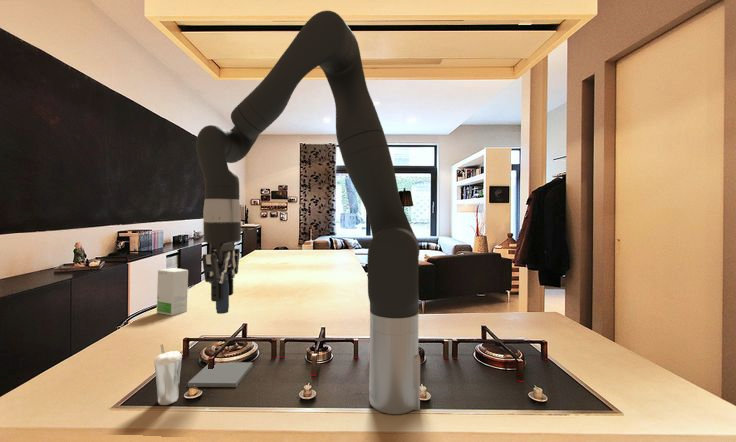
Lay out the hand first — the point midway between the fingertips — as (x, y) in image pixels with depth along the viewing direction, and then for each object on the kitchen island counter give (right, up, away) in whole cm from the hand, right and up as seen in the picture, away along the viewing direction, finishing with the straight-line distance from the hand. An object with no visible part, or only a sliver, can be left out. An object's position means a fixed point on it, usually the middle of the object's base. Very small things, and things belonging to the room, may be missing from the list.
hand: (222, 297), depth 76 cm
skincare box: (-39, -16, +49) cm, 65 cm away
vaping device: (0, -3, 0) cm, 3 cm away
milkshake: (-6, -18, -10) cm, 21 cm away
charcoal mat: (0, -17, 0) cm, 17 cm away
